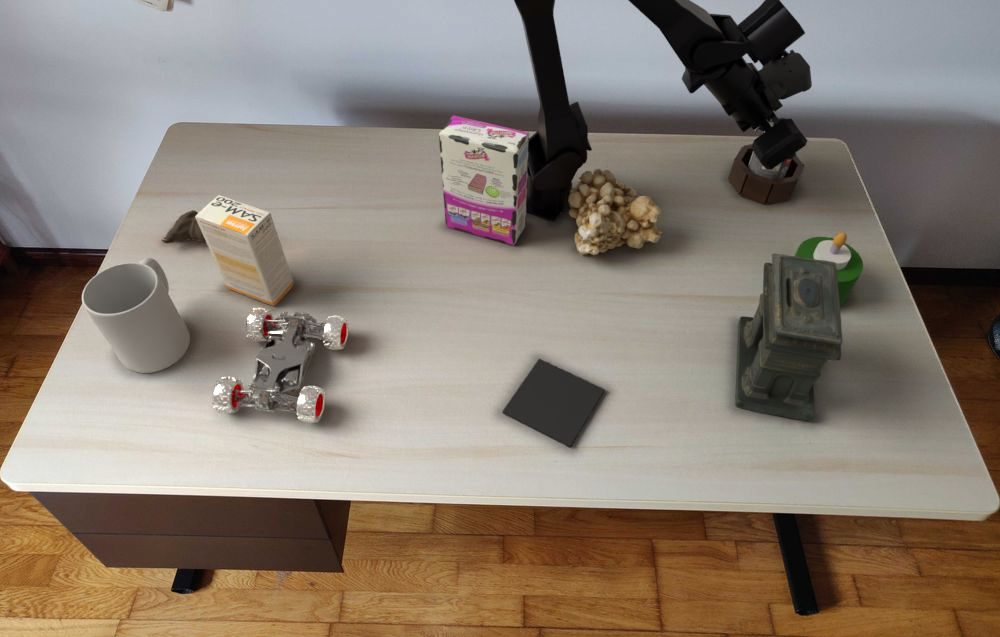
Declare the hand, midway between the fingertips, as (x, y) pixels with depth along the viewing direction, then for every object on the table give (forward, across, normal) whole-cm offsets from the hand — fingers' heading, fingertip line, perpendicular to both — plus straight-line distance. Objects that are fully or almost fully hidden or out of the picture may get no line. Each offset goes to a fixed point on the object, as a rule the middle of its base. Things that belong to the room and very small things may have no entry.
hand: (784, 144), depth 104 cm
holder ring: (+4, 0, +6) cm, 7 cm away
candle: (+3, -22, +7) cm, 24 cm away
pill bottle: (+4, 0, +6) cm, 7 cm away
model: (-5, -35, +15) cm, 38 cm away
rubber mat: (-24, -36, +34) cm, 55 cm away
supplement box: (-50, -12, +60) cm, 79 cm away
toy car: (-47, -27, +57) cm, 78 cm away
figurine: (-56, -1, +66) cm, 86 cm away
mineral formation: (-15, -7, +25) cm, 30 cm away
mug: (-58, -19, +69) cm, 92 cm away
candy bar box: (-27, -4, +38) cm, 46 cm away
